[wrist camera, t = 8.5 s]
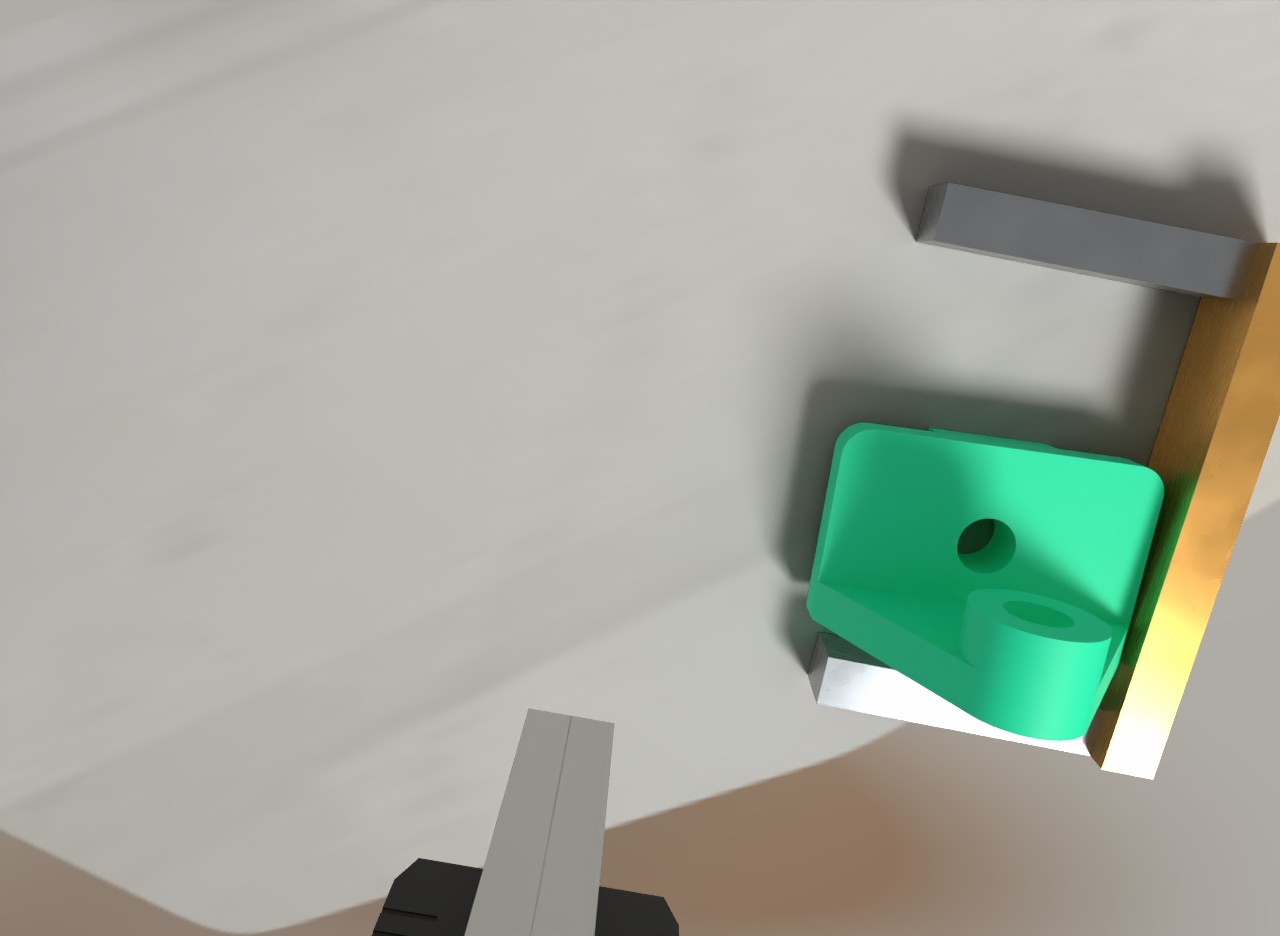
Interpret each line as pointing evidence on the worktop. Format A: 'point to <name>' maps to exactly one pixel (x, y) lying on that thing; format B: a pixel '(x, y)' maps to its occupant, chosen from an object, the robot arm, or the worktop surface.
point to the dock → (1182, 457)
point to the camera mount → (986, 568)
